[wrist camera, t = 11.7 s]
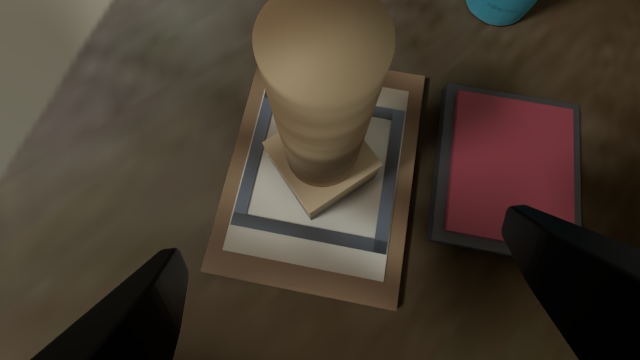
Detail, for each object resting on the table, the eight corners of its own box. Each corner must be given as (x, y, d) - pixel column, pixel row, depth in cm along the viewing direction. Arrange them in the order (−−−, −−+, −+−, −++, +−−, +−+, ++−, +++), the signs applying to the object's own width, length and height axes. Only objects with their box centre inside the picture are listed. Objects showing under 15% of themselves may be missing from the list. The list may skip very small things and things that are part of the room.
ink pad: (569, 268, 20) (587, 268, 19) (426, 240, 20) (434, 239, 19) (568, 111, 23) (583, 101, 21) (442, 90, 23) (449, 79, 22)
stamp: (374, 177, 21) (451, 56, 9) (310, 220, 20) (297, 154, 8) (331, 119, 22) (345, -61, 10) (269, 157, 21) (202, 16, 9)
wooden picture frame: (394, 309, 19) (397, 311, 19) (203, 271, 20) (199, 271, 19) (422, 80, 23) (425, 74, 23) (263, 54, 24) (261, 47, 23)
